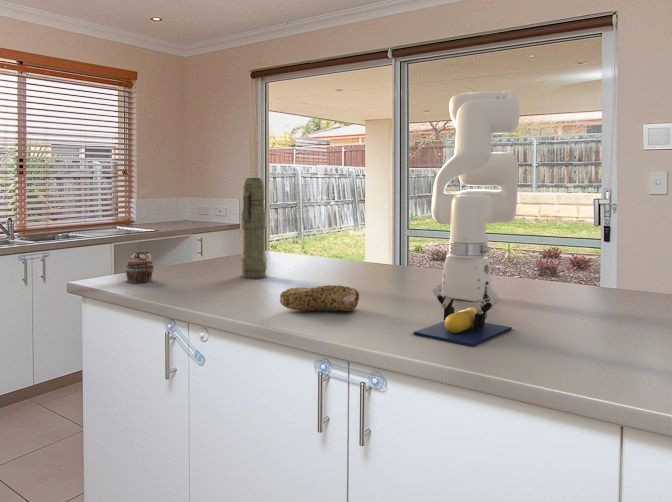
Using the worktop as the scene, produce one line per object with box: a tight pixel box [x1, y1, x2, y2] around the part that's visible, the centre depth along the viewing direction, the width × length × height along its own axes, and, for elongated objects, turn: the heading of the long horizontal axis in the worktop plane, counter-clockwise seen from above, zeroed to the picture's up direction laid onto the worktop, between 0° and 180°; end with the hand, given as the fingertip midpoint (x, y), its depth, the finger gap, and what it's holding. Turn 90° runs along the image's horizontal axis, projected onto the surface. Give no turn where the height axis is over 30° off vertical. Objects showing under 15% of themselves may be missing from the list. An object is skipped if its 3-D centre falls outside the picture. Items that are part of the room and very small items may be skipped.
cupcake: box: [124, 251, 155, 284], centre depth 203 cm, size 10×10×10 cm
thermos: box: [240, 177, 268, 279], centre depth 211 cm, size 9×12×35 cm
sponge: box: [279, 284, 360, 312], centre depth 159 cm, size 13×8×20 cm
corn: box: [445, 307, 488, 333], centre depth 137 cm, size 16×4×4 cm, turn 136°
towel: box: [413, 320, 513, 347], centre depth 137 cm, size 14×20×1 cm
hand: (463, 326), depth 137 cm, fingers open, 6 cm apart
